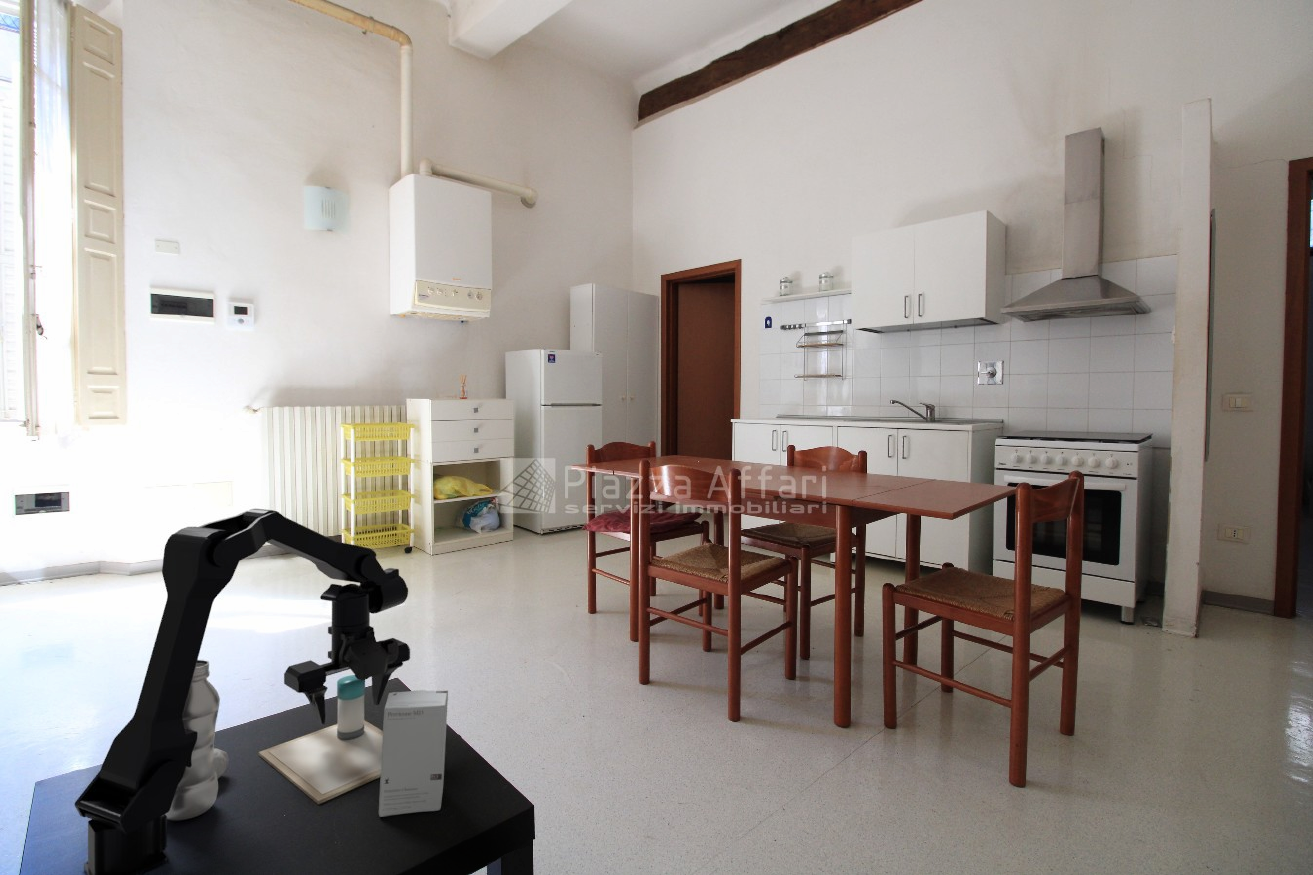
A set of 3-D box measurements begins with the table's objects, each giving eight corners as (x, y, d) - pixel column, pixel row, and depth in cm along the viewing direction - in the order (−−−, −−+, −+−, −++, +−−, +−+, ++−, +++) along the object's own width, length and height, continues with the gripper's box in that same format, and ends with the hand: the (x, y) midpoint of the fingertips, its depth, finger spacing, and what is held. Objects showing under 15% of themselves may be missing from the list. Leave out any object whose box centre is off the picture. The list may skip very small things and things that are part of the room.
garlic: (179, 798, 90) (179, 761, 90) (177, 780, 94) (177, 745, 94) (230, 783, 94) (231, 748, 94) (226, 767, 98) (226, 733, 98)
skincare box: (378, 818, 87) (379, 709, 86) (385, 793, 93) (386, 690, 92) (444, 810, 89) (445, 704, 88) (446, 786, 95) (448, 685, 94)
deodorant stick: (344, 742, 105) (344, 687, 105) (331, 734, 108) (332, 680, 107) (369, 733, 108) (369, 679, 108) (356, 725, 111) (357, 672, 111)
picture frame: (318, 804, 90) (318, 800, 90) (258, 755, 102) (258, 751, 102) (422, 757, 102) (422, 754, 102) (358, 718, 114) (358, 715, 114)
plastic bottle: (187, 831, 83) (192, 675, 83) (143, 823, 84) (148, 669, 84) (229, 803, 89) (234, 658, 89) (188, 796, 91) (193, 653, 91)
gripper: (315, 648, 95) (315, 752, 96) (428, 618, 110) (427, 709, 111) (282, 631, 102) (282, 728, 103) (393, 605, 117) (392, 690, 117)
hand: (350, 713), depth 108 cm, fingers open, 9 cm apart
